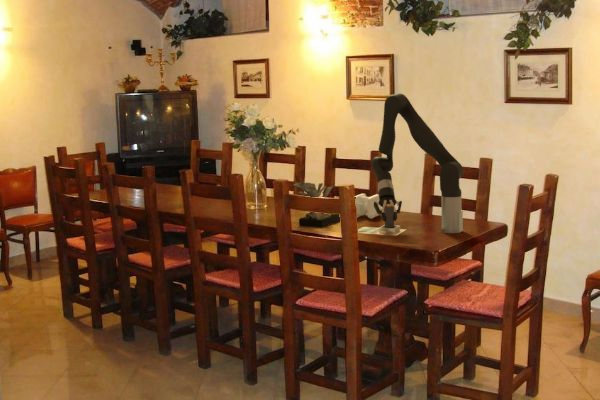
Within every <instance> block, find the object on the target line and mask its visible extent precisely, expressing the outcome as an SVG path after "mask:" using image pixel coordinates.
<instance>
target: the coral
mask: <svg viewBox="0 0 600 400" xmlns="http://www.w3.org/2000/svg"><path fill="white" fill-rule="evenodd" d="M323 185H324V184H323V183H322V182H321V183H318V185H317V188H316V184H315V183H311V182H305V181H304V180H302V181H300V182H296V183H293V186H294V187H296V188H297V189H299V190H302V191H299V192H298V194H299V195H301V196H303V195H304V196H303V197H305V196H310V197H318V198H319V197H325V198H327V196H329V194H330V192H331V190H333V188H334V184H332V185H331V186H328V187H327V186H326V185H325V186H323ZM321 195H322V196H321ZM298 222H299V223H298V225H300V227H309V228H325V227H327V226H328V227H329V226H330V225H331V226H332V225H333V224H337V223H339V222H341V221H340V217H339V214H324V213H315V212H311V211H309V212H306V213H305V216H303V217H300V218H299V219H298Z"/></svg>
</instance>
